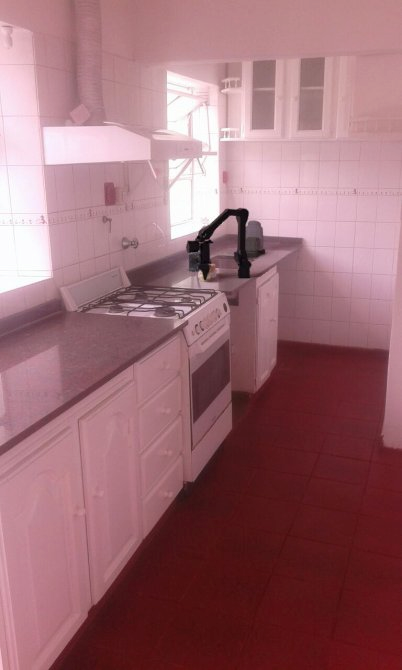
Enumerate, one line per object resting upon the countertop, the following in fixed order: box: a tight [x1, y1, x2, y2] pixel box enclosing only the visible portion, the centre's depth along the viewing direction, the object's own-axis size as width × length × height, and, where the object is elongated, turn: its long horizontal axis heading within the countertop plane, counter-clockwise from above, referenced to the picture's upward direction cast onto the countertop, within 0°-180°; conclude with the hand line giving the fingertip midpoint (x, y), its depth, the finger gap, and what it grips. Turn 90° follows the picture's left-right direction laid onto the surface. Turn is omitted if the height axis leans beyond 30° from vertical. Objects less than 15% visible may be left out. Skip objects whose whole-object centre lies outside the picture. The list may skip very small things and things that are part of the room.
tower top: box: [200, 263, 217, 272], centre depth 362 cm, size 8×8×4 cm
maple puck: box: [199, 273, 212, 283], centre depth 349 cm, size 6×6×4 cm
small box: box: [188, 251, 200, 273], centre depth 383 cm, size 11×6×10 cm, turn 143°
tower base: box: [197, 269, 218, 279], centre depth 363 cm, size 10×10×4 cm
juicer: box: [245, 219, 266, 259], centre depth 439 cm, size 30×16×24 cm, turn 166°
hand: (205, 278), depth 349 cm, fingers closed on maple puck, 6 cm apart
